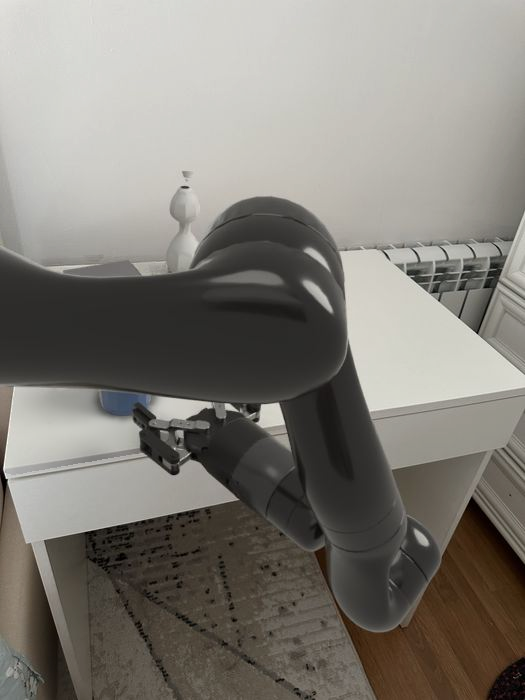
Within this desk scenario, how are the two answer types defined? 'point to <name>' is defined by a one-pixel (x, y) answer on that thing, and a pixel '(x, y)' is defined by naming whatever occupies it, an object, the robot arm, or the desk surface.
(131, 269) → the scale pan
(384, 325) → the desk surface
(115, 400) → the cup
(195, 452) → the robot arm
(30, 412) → the desk surface
